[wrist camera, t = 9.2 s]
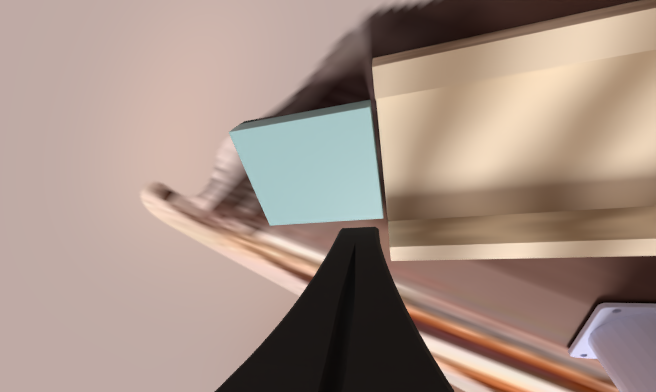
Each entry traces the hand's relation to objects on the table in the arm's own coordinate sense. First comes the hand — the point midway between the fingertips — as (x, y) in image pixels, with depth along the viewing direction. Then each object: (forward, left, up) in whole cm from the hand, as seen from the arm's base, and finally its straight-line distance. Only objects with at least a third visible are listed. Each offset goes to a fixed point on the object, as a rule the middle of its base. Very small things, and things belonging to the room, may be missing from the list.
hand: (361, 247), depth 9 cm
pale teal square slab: (+3, 0, -8) cm, 9 cm away
